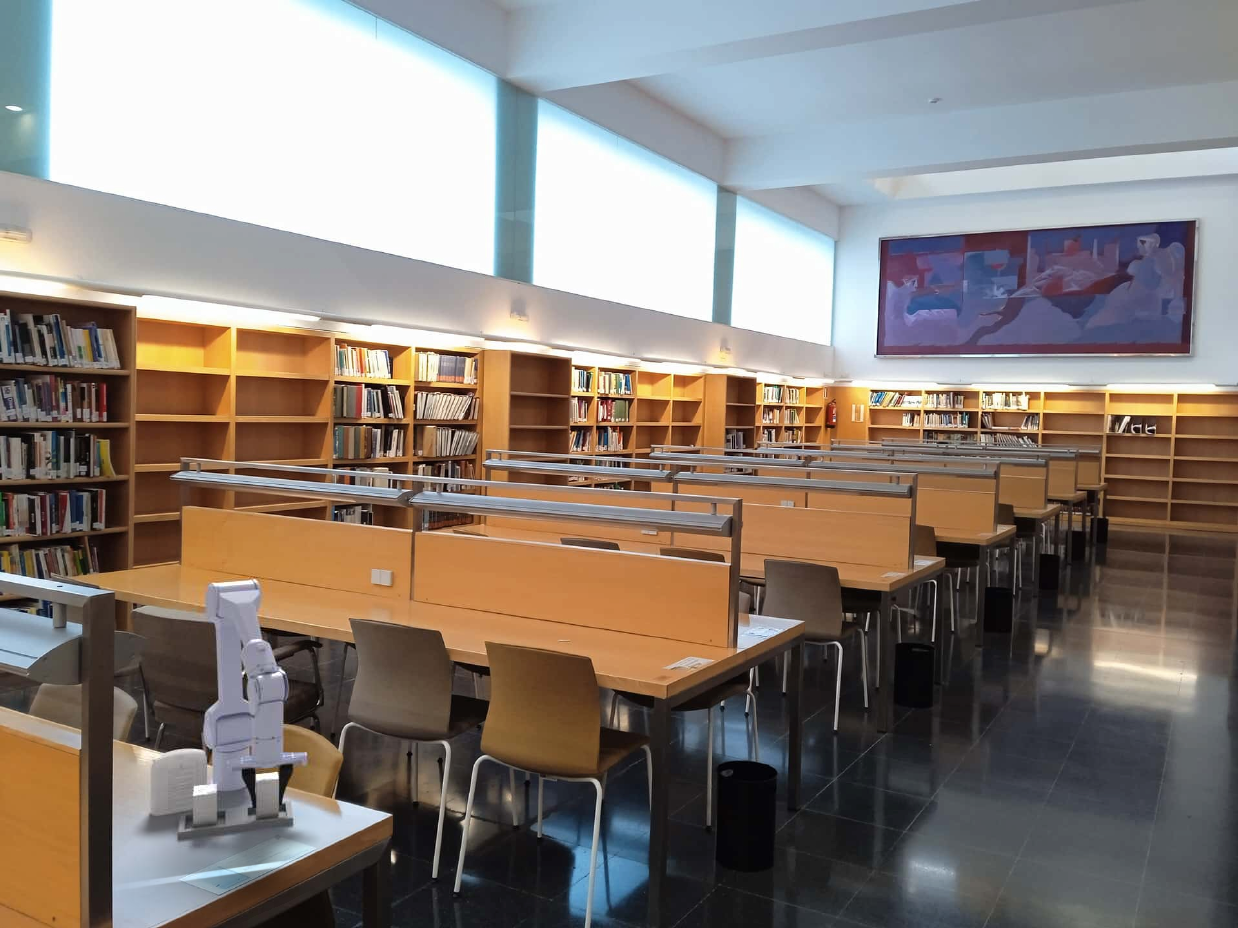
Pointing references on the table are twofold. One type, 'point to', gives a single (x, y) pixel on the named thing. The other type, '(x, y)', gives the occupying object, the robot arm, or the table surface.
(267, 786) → the block
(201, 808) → the block
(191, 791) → the white tombstone slab
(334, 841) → the table surface
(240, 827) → the pallet
